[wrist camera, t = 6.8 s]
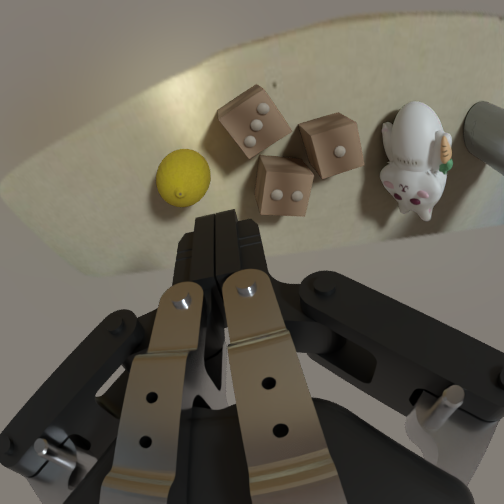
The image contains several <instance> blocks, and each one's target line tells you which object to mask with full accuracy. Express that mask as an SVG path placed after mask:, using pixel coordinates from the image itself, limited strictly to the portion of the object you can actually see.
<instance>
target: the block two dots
mask: <svg viewBox="0 0 504 504" xmlns="http://www.w3.org/2000/svg"><path fill="white" fill-rule="evenodd" d="M313 178H314V174H313V173H312V172H311V170H310V169H309V168H308V166H307V165H306V164H305V163H304V161H303V160H302V159H300V158H289V157H278V156H265V155H259V163H258V170H257V178H256V186H255V197H256V201H257V204H258V208H259V211H260V215H283V216H305V214H306V210H307V205H308V201H309V196H310V192H311V187H312V183H313Z"/></svg>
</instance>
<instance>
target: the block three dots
mask: <svg viewBox="0 0 504 504" xmlns="http://www.w3.org/2000/svg"><path fill="white" fill-rule="evenodd" d="M217 111H218V120H219V121H220V122H221V123H222V125H223V126H224V127H225V128H226V130H227V131H228V132H229V134H230V135H231V136H232V137H233V139H234V140H235V141H236V143H237V144H238V145H239V147H240V148H241V149H242V150H243V152H244V153H245V154H246V156H247V157H248V158H249V159H250V158H252V157H253V156H255V155H256V154H258V153H259V152H261V151H263V150H264V149H266V148H267V147H269V146H270V145H272V144H273V143H275V142H276V141H278V140H280V139H281V138H283V137H284V136H286V135H288V134H289V133H291V132H292V130H291V128H290V127H289V125H288V123H287V122H286V120H285V119H284V117H283V116H282V114H281V113H280V111H279V110H278V109H277V107H276V106H275V104H274V103H273V101H272V100H271V98H270V97H269V95H268V94H267V93H266V91H265V90H264V89H263V88H262V87H260V86H259V85H257V84H256V85H254V86H253V87H251V88H250V89H248V90H247V91H245V92H243V93H242V94H240V95H239V96H237V97H236V98H234V99H233V100H231V101H230V102H228V103H227V104H226V105H224V106H223V107H221V108H220V109H218V110H217Z"/></svg>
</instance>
